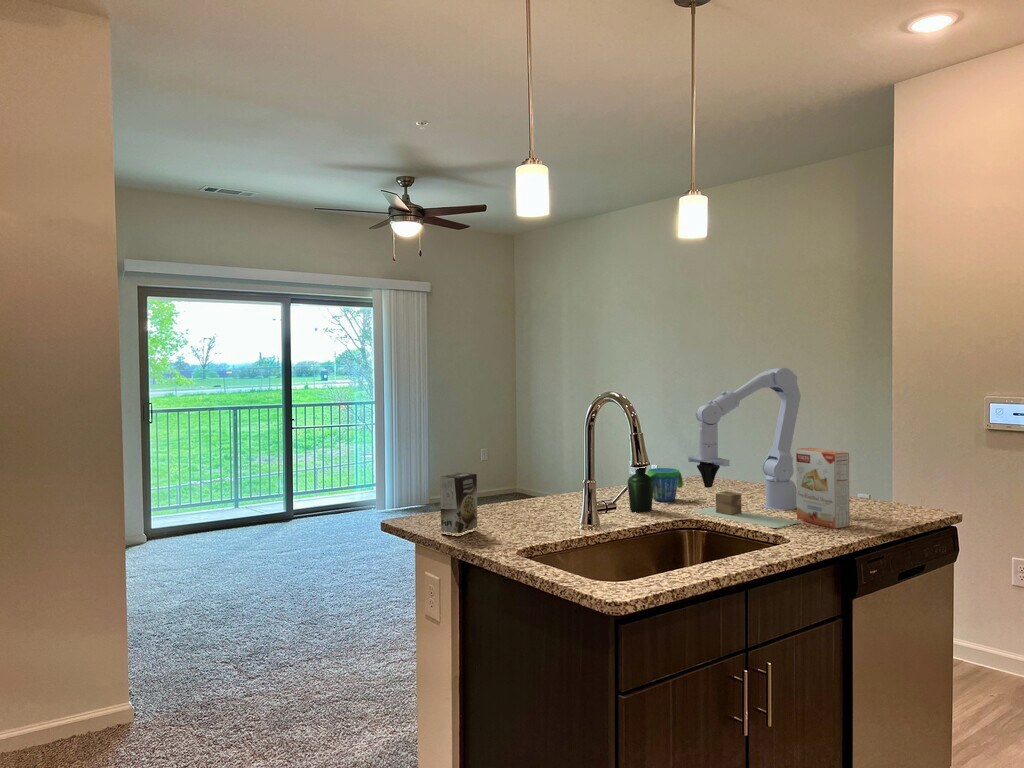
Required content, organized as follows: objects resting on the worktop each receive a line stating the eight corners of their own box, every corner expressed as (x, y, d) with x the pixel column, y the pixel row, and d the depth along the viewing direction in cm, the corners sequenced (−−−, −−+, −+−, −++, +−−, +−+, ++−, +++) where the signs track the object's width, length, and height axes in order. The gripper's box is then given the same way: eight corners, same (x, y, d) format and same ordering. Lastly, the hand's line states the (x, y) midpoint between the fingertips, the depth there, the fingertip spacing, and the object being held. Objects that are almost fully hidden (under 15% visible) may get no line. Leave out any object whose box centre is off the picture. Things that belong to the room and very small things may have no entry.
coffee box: (459, 537, 194) (458, 477, 194) (440, 535, 198) (439, 476, 198) (478, 531, 202) (477, 473, 202) (459, 528, 206) (459, 471, 205)
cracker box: (795, 520, 210) (794, 448, 210) (811, 518, 213) (810, 447, 212) (834, 529, 198) (833, 453, 197) (850, 527, 200) (850, 451, 200)
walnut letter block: (726, 510, 224) (726, 491, 224) (741, 513, 219) (741, 493, 219) (715, 512, 221) (715, 492, 221) (730, 515, 216) (730, 495, 216)
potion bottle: (647, 508, 232) (646, 451, 231) (658, 512, 224) (658, 454, 223) (623, 509, 230) (623, 452, 229) (634, 514, 222) (633, 455, 221)
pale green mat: (715, 507, 230) (715, 506, 230) (800, 523, 206) (800, 522, 206) (690, 512, 223) (689, 511, 223) (775, 529, 199) (775, 527, 199)
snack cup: (654, 504, 237) (654, 473, 237) (635, 499, 247) (635, 469, 247) (692, 500, 244) (692, 470, 244) (672, 495, 254) (672, 466, 253)
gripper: (681, 442, 229) (681, 485, 230) (718, 446, 218) (718, 491, 218) (696, 441, 234) (696, 483, 234) (733, 444, 222) (734, 489, 222)
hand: (708, 487), depth 226 cm, fingers closed
